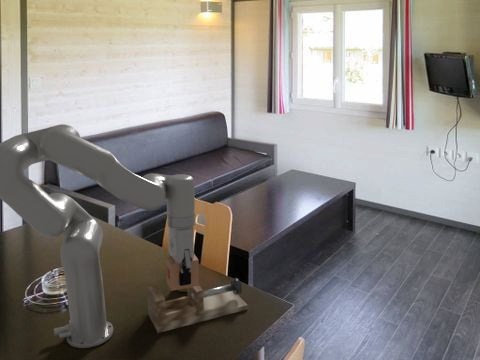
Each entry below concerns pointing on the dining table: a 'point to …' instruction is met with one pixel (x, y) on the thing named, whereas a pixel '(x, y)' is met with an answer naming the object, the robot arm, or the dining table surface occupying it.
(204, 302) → the stand
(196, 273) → the rectangular block
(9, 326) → the dining table surface
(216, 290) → the shaft
